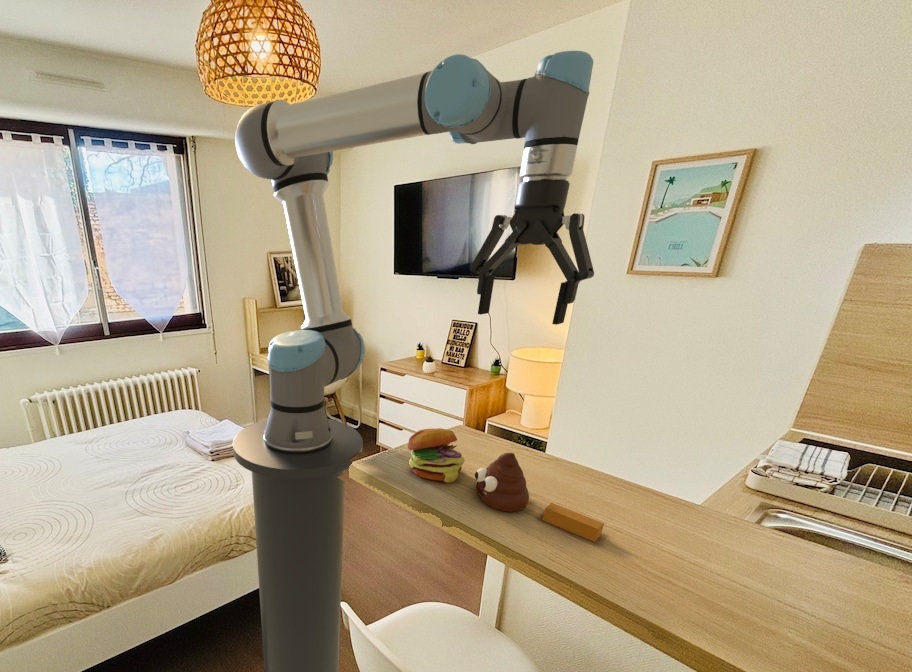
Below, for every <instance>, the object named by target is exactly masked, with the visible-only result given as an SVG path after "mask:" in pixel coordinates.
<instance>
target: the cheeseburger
mask: <svg viewBox="0 0 912 672" xmlns="http://www.w3.org/2000/svg"><path fill="white" fill-rule="evenodd" d="M457 441H458V438H457V436H456V434H455V432H454V431H453V430H450V429H446V428H441V427H440V428H439V427H438V428H424V429H419V430H418V431H416V432H415V433H413V434H412V435H411V436H410V437H409V438H408V443H407V449H408V450H410V451H411V452H410V455H411V457H410V458H409V460H408V464H409V467H410V468H411V469H412V472H413V473H414V474H415V475H416V476H418V477H420V478H424V479H428V480H432V481H440V482H442V481H443V482H444V483H446V484H448V483H453V482H455V481H457V479H458V477H459V476H460V473H461V472H462V468H463V467H462V466H463V465H464V464H465V457H464V456H463V455H462V453H461V452H460V451H457V450H456V449H455V448H456V447H457V446H458V444H456V445H454V444H452V443H455V442H457Z"/></svg>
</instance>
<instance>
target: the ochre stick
mask: <svg viewBox="0 0 912 672" xmlns="http://www.w3.org/2000/svg"><path fill="white" fill-rule="evenodd" d="M541 520H542V521H544V522H546V523H548V524H549V525H553V526H555V527H558V528H561V529H562V530H565V531H567V532H570V533H572V534H575V535H577V536H578V537H579V536H580V537H582V538H584V539H586V540H589V541H590V542H591V541H592V542H596V541H597V540H598V539H599V538H600V537H601V536H602V532H603V529H604V526H605V523H604V522H603V521H600V520H597V519H594V518H592V517H589V516H586V515H585V514H583V513H582V514H581V513H580V512H576V511H574V510H571V509H569V508H566V507H564V506H562V505H559V504H556V503H554V502H551V503H549V504H548V505H547V506H545V508H544V511H543V516H542V519H541Z"/></svg>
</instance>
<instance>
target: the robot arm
mask: <svg viewBox="0 0 912 672" xmlns="http://www.w3.org/2000/svg"><path fill="white" fill-rule="evenodd" d="M593 67H594V59H593V57H592V55H591V54H590V53H588V52H586V51H583V50H565V51H558V52H554V54H548V55H546V56H544V57H543V58H542V59H540V60H539V62H538V63H537V66H536V70H535V72H534V75H533V76H530V77H527V78H523V79H515V80H509V81H500V80H499V79H497V78H496V77H495V76H494V75H493V74H492V73H491V72H490V71H489V70H487V68H486V67H485V66H484V65H483V63H481V62H480V61H479V59H476V58H472V57H471V56H468V55H466V54H461V53H460V54H459V53H458V54H457V53H456V54H453V55H449V56H447V57H446V58H444V59H443V60H442V61H440V62H439V63H438V64H437V65H436V66H435V67H434V68H433V69H432V70H428V71H426V72H422V73H418V74H413V75H409V76H405V77H400V78H396V79H392V80H388V81H384V82H381V83H376V84H371V85H367V86H363V87H359V88H354V89H351V90H347V91H343V92H339V93H334V94H330V95H326V96H322V97H318V98H314V99H313V98H312V99H309V100H305V101H301V102H297V103H292V104H290V103H289V102H288V101H287V100H284V99H277V100H273V101H270V102H266V103H261V104H257V105H255V106H252V107H250V108H249V109H247V110H246V111H245V112H244V114H243V115H241V118H240V119H239V120H238V123H237V126H236V129H235V134H234V135H235V136H234V137H235V139H234V142H235V143H234V144H235V150H236V152H237V156H238V159H239V161H240V162H241V164H242V165H243V166H244V168H245V169H246V170H247V171H248V172H249V173H251V174H252V175H254V176H256V177H257V178H261V179H266V180H270V181H271V186H272V191H273V196H274V198H275V199H276V200H278V201H279V202H281V204H282V205H283V209H284V214H285V215H284V216H285V219H286V224H287V229H288V235H289V239H290V240H289V241H290V245H291V250H292V256H293V260H294V266H295V271H296V276H297V280H298V285H299V290H300V296H301V301H302V306H303V312H304V316H305V319H304V321H303V323H302V325H301V326H300V329H295V330H294V331H286V332H283V333H279V334H278V335H276V336H274V337H273V338H272V339H271V340H270V342H269V345H268V356H267V363H268V377H269V379H268V380H269V395H270V397H269V398H270V399H269V400H270V410H269V413H268V418H267V420H268V421H267V425H266V428H265V430H264V443H265V445H266V446H267V447H269V448H270V449H272V450H274V451H277V452H281V453H287V454H307V453H313V452H317V451H320V450H322V449H324V448H326V447H328V446H329V445H330V444H331V442H332V432H331V428H330V426H329V422H328V419H329V418H328V416H327V413H326V409H325V387H327V386H330V385H333V384H334V383H336V382H338V381H340V380H344V379H347V378H348V377H350V376H351V375H352V374H354V373H355V372H357V370H358V369H360V367H361V365H362V364H363V362H364V358H365V354H366V346H365V341H364V339H363V336H362V334H361V333H360V332H358V331H357V329H356V328H355V327H353V322H352V321H353V320H352V318H351V316H350V315H349V314H347V313H346V312H345V311H344V309H343V304H342V303H343V302H342V298H341V291H340V286H339V280H338V275H337V269H336V262H335V257H334V251H333V245H332V239H331V233H330V227H329V222H328V216H327V211H326V204H325V199H324V194H325V192H326V190H327V189H328V187H329V178H328V175H329V174H330V171H331V166H332V165H333V161H334V152H336V151H341V150H346V149H347V150H348V149H353V148H359V147H365V146H370V145H376V144H383V143H388V142H393V141H394V142H395V141H400V140H404V139H411V138H416V137H423V136H429V135H437V134H443V133H444V134H445V133H448V134H449V135H450V139H451V141H452V142H453V143H455V144H471V145H476V144H477V143H485V142H486V143H487V142H494V141H495V142H496V141H504V140H505V141H506V140H512V139H517V140H518V139H524V146H523V152H522V157H521V164H520V170H519V177H518V178H520V179H521V180H522V181H521V182H519V183H518V184H517V188H516V193H515V201H514V211H513V214H512V216H508V215H505V214H496V215H495V216H494V217H493V222H492V226H491V229H490V231H489V233H488V234H487V236H486V238H485V239H484V241H483V243H482V245H481V247H480V249H479V250H478V252H477V254H476V256H475V258H474V259H473V261H472V263H471V264H470V266H469V271H470V272H472V273H476V274H477V275H478V280H477V289H476V294H477V295H479V296H480V297H479V303H478V310H477V315H481V316H482V315H487V314H489V313H490V309H491V303H492V295H493V289H494V282H495V277H496V276H495V275H492V274H493V272H494V271H495V270H496V269H497V268H498V267H499V265H500V264H501V263H502V262H504V261H505V259H506V258H507V257H508V256H509V255H510V254H511V253H512V252H513V251H514V250H515V248H517V247H518V246H519V245H525V246H526V245H534V246H544V245H545V247H546V248H547V249H548V250H549V252H550V254H551V255H552V257H553V259H554V260H555V262H556V264H557V265H558V268H559V269H560V271H561V274H562V275H563V276H564V278H565V281H563V282H560V286H559V291H558V296H557V301H556V305H555V309H554V313H553V318H552V323H551V324H552V325H556V326H557V325H561V324H564V322H565V318H566V315H567V309H568V305H570V304H573V303H574V302H575V300H576V296H577V293H578V289H579V284H580V282H582V281H585V280H588V279H592V278H593V277H594V276H595V270H594V266H593V263H592V259H591V254H590V250H589V246H588V243H587V239H586V235H585V231H584V226H585V214H583V213H579V212H578V213H576V212H575V213H574V212H573V213H572V214H570V215H565V208H566V204H567V200H568V194H569V190H570V186H571V185H570V184H571V183H570V182H569V180H568V178H569V177H571V176H572V175H573V170H574V165H575V161H576V160H575V159H576V155H577V150H578V144H579V140H580V135H581V130H582V126H583V121H584V116H585V112H586V107H587V103H588V99H589V97H590V85H591V79H592V73H593ZM564 225H565V229H566V230H567V231H568V235H569V239H570V243H571V247H572V250H573V255H574V259H575V262H576V265H575V263H574V261H573V260H572V258H571V256H570V254H569V253H568V251H567V249H566V248H565V246H564V244H563V240H562V238H561V236H560V235H559V233H558V231H560V230H561V228H562V227H563V226H564ZM509 226H510V229H511V231H512V232H511V233H510V234H509V235H508V237H506V238H505V240H504V242H503V244H501V246H499V248H498V249H497V250H496V251H495V249H496V247H497V245H498V243H499V242H500V240H501V238H502V237H503V235H504V233H505V230H507V229H508V228H509ZM494 251H495V252H494ZM493 252H494V254H493ZM491 255H492V256H491ZM576 266H577V267H576Z"/></svg>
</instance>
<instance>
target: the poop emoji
mask: <svg viewBox="0 0 912 672" xmlns="http://www.w3.org/2000/svg"><path fill="white" fill-rule="evenodd" d="M474 478H475V480H476V483H475V491H476V493H477V494H478V495H479V496H480V498H481V499H482V501H483V502H484V503H485V504H486V505H487V506H489V507H490V508H492V509H495V510H498V511H501V512H508V513H509V512H510V513H511V512H519V511H522V510H524V509H525V508H526V507H527V505H528V503H529V501H530V493H529V489H528V487H527V480H526V477H525V475H524V471H523V469H522V467H521V466H520V464H519V461H518V459H517V458H516V455H515V453H514V452H504V453H502V454H500V455H499V456H498V457H497V459H495V460H494V461H493V462H491V463H490V464H489V465H488V466H487V467H479V468H478V469H477V470H476V471H475V473H474Z"/></svg>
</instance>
